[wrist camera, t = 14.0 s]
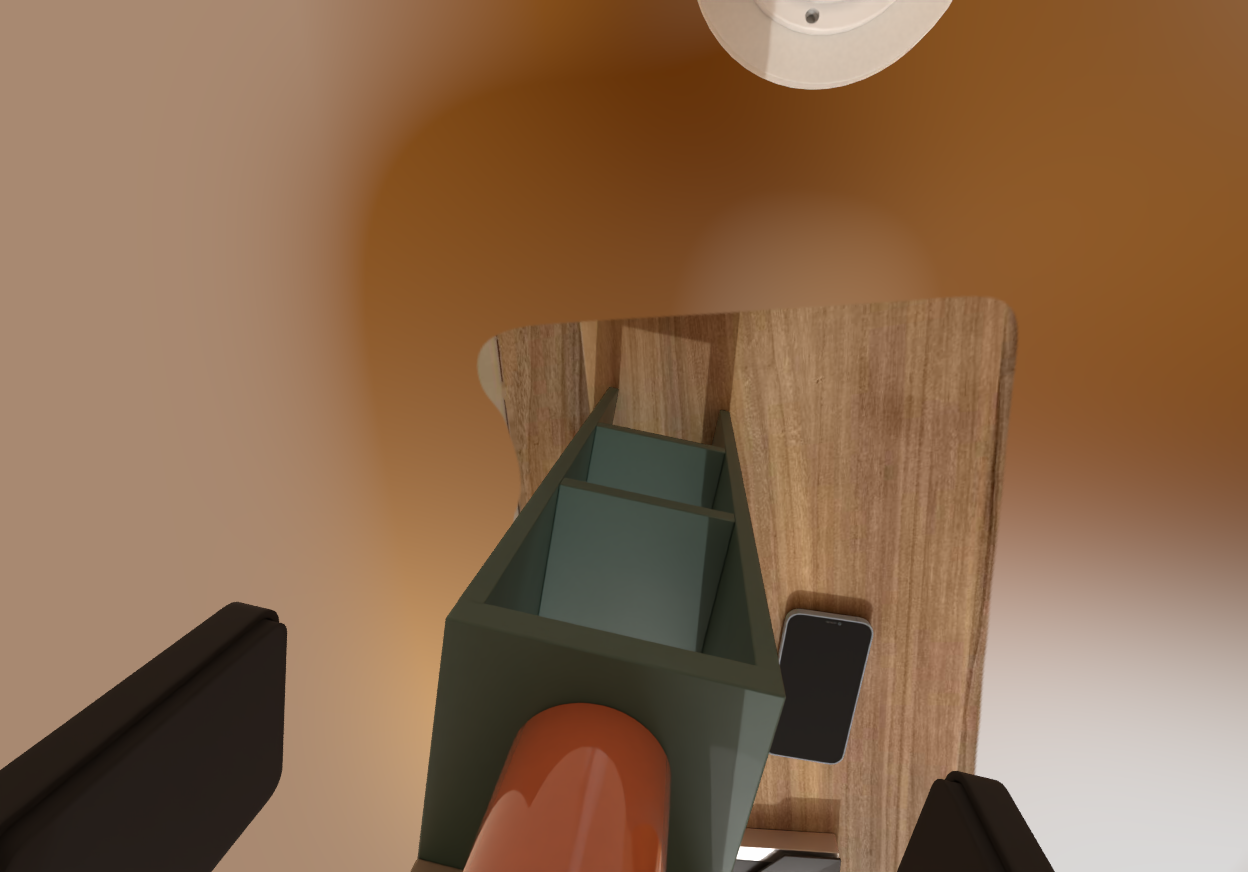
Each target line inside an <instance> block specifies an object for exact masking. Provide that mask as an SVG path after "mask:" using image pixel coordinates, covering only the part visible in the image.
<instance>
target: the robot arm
mask: <svg viewBox="0 0 1248 872" xmlns="http://www.w3.org/2000/svg"><path fill="white" fill-rule="evenodd" d="M753 1H754V2H755V3H756V4H757V5H758V6H759V8H760V9H761V10H762V11H763V12H764V13H765V14H766V15H768V16H769V17H770V18H771V19H773V20H774V21H775V22H777V23H778V24H780V25H782V26H784V27H786V28H788V29H791V30H793V31H796V32H800V33H805V34H809V35H832V34H837V33H842V32H847V31H850V30H852V29H855V28H857V27H860V26H862V25H864V24H867V23H868V22H870V21H871V20H873V19H874V18H876V17H877V16H879V15H881V14H882V13H884V12H885V11H886V10H887V9H888V8H889V7H890V6H891V5H892V4H893V3H894V2H895V1H897V0H753ZM808 17H812V18H813V19H814V22H813V23H811V24H810V23H808V22H807V18H808ZM286 647H287V628H286V626H285V625H284V624H282V623H279V617H278V615H277V613H276V612H275V611H273V610H270V609H266V608H261V607H257V606H253V605H249V604H244V603H240V602H233V603H230V604H228V605H226V606H225V607H224V608H222V609H221V610H219V611H218V612H217V613H216V614H214V615H212V616H211V617H210V618H208V619H207V620H206V621H204V622H203V623H202V624H200V625H199V626H197V627H196V628H195V629H194V630H192V631H191V632H189V633H188V634H186V635H185V636H184V637H182V638H181V639H180V640H178V641H177V642H175V643H174V644H173V645H171V646H170V647H169V648H167V649H166V650H164V651H163V652H162V653H160V654H159V655H158V656H156V657H155V658H153V659H152V660H151V661H149V662H148V663H147V664H145V665H144V666H143V667H141V668H140V669H138V670H137V671H136V672H134V673H133V674H132V675H130V676H129V677H127V678H126V679H125V680H123V681H122V682H121V683H119V684H118V685H116V686H115V687H114V688H112V689H111V690H110V691H108V692H107V693H105V694H104V695H103V696H101V697H100V698H99V699H97V700H96V701H95V702H93V703H92V704H90V705H89V706H88V707H86V708H85V709H84V710H82V711H81V712H79V713H78V714H77V715H75V716H74V717H73V718H71V719H70V720H69V721H67V722H66V723H65V724H63V725H62V726H60V727H59V728H58V729H56V730H55V731H53V732H52V733H51V734H49V735H48V736H47V737H45V738H44V739H42V740H41V741H40V742H38V743H37V744H35V745H34V746H33V747H31V748H30V749H29V750H27V751H26V752H24V753H23V754H22V755H20V756H19V757H18V758H16V759H15V760H14V761H12V762H11V763H9V764H8V765H7V766H5V767H4V768H3V769H1V770H0V872H211V871H212V870H213V869H214V868H215V866H216V865H217V864H218V863H219V861H220V860H221V859H222V858H223V856H224V855H225V854H226V853H227V851H228V850H229V849H230V848H231V846H232V845H233V844H234V843H235V841H236V840H237V839H238V838H239V836H240V835H241V834H242V832H243V831H244V830H245V829H246V828H247V826H248V825H249V824H250V823H251V821H252V820H253V819H254V817H255V816H256V815H257V814H258V813H259V811H260V810H261V809H262V808H263V806H264V805H265V804H266V803H267V801H268V800H269V799H270V797H271V796H272V794H273V793H274V791H275V789H276V787H277V785H278V783H279V780H280V777H281V773H282V762H283V734H284V705H285V674H286ZM897 872H1055V871H1054V870H1053V868H1052V866H1051V864H1050V863H1049V861H1048V859H1047V858H1046V856H1045V854H1044V853H1043V851H1042V849H1041V847H1040V846H1039V844H1038V842H1037V840H1036V839H1035V837H1034V835H1033V833H1032V832H1031V830H1030V828H1029V827H1028V825H1027V823H1026V821H1025V820H1024V818H1023V817H1022V815H1021V813H1020V811H1019V809H1018V808H1017V806H1016V804H1015V803H1014V801H1013V799H1012V797H1011V796H1010V794H1009V792H1008V791H1007V789H1006V788H1005V787H1004V785H1003V784H1001V783H1000V782H999V781H997V780H993V779H989V778H984V777H980V776H976V775H972V774H968V773H963V772H959V771H952V772H951V773H949V774H948V775H947V777H946V779H945V780H943V779H937V780H936V781H934V783H933V785H932V787H931V789H930V792H929V794H928V797H927V799H926V802H925V804H924V807H923V809H922V811H921V814H920V816H919V819H918V821H917V824H916V826H915V829H914V831H913V834H912V836H911V839H910V841H909V843H908V846H907V848H906V851H905V853H904V856H903V858H902V861H901V863H900V866H899V868H898V871H897Z"/></svg>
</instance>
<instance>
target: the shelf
mask: <svg viewBox="0 0 1248 872" xmlns="http://www.w3.org/2000/svg"><path fill="white" fill-rule="evenodd" d="M618 391H619V389H617V388H612V387H609V389H608V390H607V391H606V393H605V394H604V396H603V397H602V399H601V400H600V401H599V403H598V404H597V406H596V407H595V408H594V410H593V411H592V413H591V414H590V415H589V417H588V418H587V420H586V421H585V422H584V424H583V425H582V427H581V428H580V430H579V431H578V432H577V434H576V435H575V437H574V438H573V439H572V441H571V442H570V444H569V445H568V446H567V448H566V449H565V451H564V452H563V453H562V455H561V456H560V458H559V459H558V460H557V462H556V463H555V465H554V466H553V468H552V469H551V470H550V472H549V473H548V475H547V476H546V477H545V479H544V480H543V482H542V483H541V484H540V486H539V487H538V489H537V490H536V491H535V493H534V494H533V496H532V497H531V499H530V500H529V501H528V503H527V504H526V506H525V507H524V508H523V510H522V511H521V513H520V514H519V515H518V517H517V518H516V520H515V521H514V522H513V524H512V525H511V527H510V528H509V530H508V531H507V532H506V534H505V535H504V537H503V538H502V539H501V541H500V542H499V544H498V545H497V546H496V548H495V549H494V551H493V552H492V553H491V555H490V556H489V558H488V559H487V561H486V562H485V563H484V565H483V566H482V568H481V569H480V571H479V572H478V573H477V575H476V576H475V577H474V579H473V580H472V582H471V583H470V584H469V586H468V587H467V589H466V590H465V591H464V593H463V594H462V596H461V597H460V599H459V600H458V602H457V603H456V605H455V606H454V608H453V609H452V610H451V612H450V613H449V615H448V616H447V618H446V621H445V630H444V639H443V647H442V656H441V664H440V672H439V681H438V689H437V698H436V707H435V715H434V724H433V732H432V740H431V749H430V757H429V766H428V774H427V783H426V791H425V800H424V809H423V817H422V825H421V834H420V842H419V852H418V859H417V860H416V862H415V864H414V866H413V868H412V870H411V872H462V870H463V868H464V865H465V863H466V860H467V857H468V855H469V852H470V850H471V847H472V845H473V842H474V839H475V837H476V834H477V832H478V829H479V827H480V824H481V821H482V819H483V816H484V814H485V811H486V808H487V806H488V803H489V801H490V798H491V796H492V793H493V790H494V788H495V785H496V783H497V780H498V778H499V775H500V772H501V770H502V767H503V765H504V762H505V760H506V757H507V754H508V752H509V749H510V747H511V744H512V742H513V740H514V737H515V736H516V734H517V733H518V731H519V730H520V729H521V727H522V726H523V725H524V724H525V723H526V722H527V721H529V720H530V719H531V718H532V717H533V716H535V715H537V714H538V713H540V712H542V711H544V710H546V709H548V708H551V707H554V706H557V705H561V704H567V703H580V702H582V703H594V704H599V705H604V706H608V707H611V708H614V709H617V710H619V711H621V712H624V713H626V714H627V715H629V716H631V717H633V718H634V719H636V720H637V721H638V722H640V723H641V724H643V725H644V726H645V727H646V728H647V729H648V730H649V731H650V732H651V733H652V734H653V735H654V736H655V738H656V739H657V740H658V742H659V743H660V745H661V746H662V748H663V750H664V752H665V754H666V756H667V759H668V762H669V765H670V770H671V799H670V818H669V837H668V855H667V872H733V868H734V865H735V862H736V859H737V855H738V852H739V849H740V846H741V842H742V839H743V836H744V833H745V829H746V826H747V823H748V820H749V816H750V813H751V810H752V807H753V803H754V800H755V797H756V793H757V790H758V787H759V784H760V780H761V777H762V774H763V771H764V767H765V764H766V761H767V758H768V754H769V751H770V748H771V745H772V741H773V738H774V735H775V732H776V728H777V725H778V722H779V719H780V715H781V712H782V709H783V706H784V702H785V699H786V695H785V690H784V685H783V680H782V674H781V669H780V664H779V659H778V654H777V649H776V644H775V639H774V634H773V629H772V624H771V619H770V614H769V609H768V604H767V599H766V594H765V589H764V584H763V579H762V574H761V569H760V564H759V559H758V553H757V548H756V543H755V538H754V533H753V528H752V523H751V518H750V513H749V508H748V503H747V498H746V493H745V488H744V483H743V478H742V473H741V468H740V463H739V458H738V453H737V448H736V443H735V438H734V433H733V427H732V422H731V417H730V412H728V411H723V410H720V412H719V417H718V421H717V425H716V429H715V434H714V438H713V442H712V446H711V445H706V444H702V443H697V442H692V441H687V440H682V439H678V438H673V437H668V436H663V435H659V434H654V433H649V432H644V431H640V430H635V429H630V428H625V427H620V426H616V425H612V423H613V418H614V413H615V407H616V402H617V396H618Z"/></svg>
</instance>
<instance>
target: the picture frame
mask: <svg viewBox="0 0 1248 872" xmlns="http://www.w3.org/2000/svg"><path fill="white" fill-rule="evenodd" d="M840 865H841V859H840V858H839V850H838V846H837V842H836V838H835V834H831V833H815V832H799V831H783V830H767V829H751V828H746V829H745V833H744V836H743V839H742V842H741V846H740V849H739V852H738V855H737V859H736V862H735V865H734V868H733V872H840Z"/></svg>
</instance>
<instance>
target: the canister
mask: <svg viewBox="0 0 1248 872" xmlns="http://www.w3.org/2000/svg"><path fill="white" fill-rule="evenodd" d="M670 799H671V770H670V765H669V762H668V759H667V756H666V754H665V752H664V750H663V748H662V746H661V745H660V743H659V742H658V740H657V739H656V738H655V736H654V735H653V734H652V733H651V732H650V731H649V730H648V729H647V728H646V727H645V726H644V725H643V724H641V723H640V722H638V721H637V720H636V719H634V718H633V717H631V716H629V715H627V714H626V713H624V712H621V711H619V710H617V709H614V708H611V707H608V706H604V705H599V704H594V703H582V702H580V703H567V704H561V705H557V706H554V707H551V708H548V709H546V710H544V711H542V712H540V713H538V714H537V715H535V716H533V717H532V718H531V719H530V720H529V721H527V722H526V723H525V724H524V725H523V726H522V727H521V729H520V730H519V731H518V733H517V734H516V736H515V737H514V740H513V742H512V744H511V747H510V749H509V752H508V754H507V757H506V760H505V762H504V765H503V767H502V770H501V772H500V775H499V778H498V780H497V783H496V785H495V788H494V790H493V793H492V796H491V798H490V801H489V803H488V806H487V808H486V811H485V814H484V816H483V819H482V821H481V824H480V827H479V829H478V832H477V834H476V837H475V839H474V842H473V845H472V847H471V850H470V852H469V855H468V857H467V860H466V863H465V865H464V868H463V870H462V872H667V855H668V837H669V818H670Z"/></svg>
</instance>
